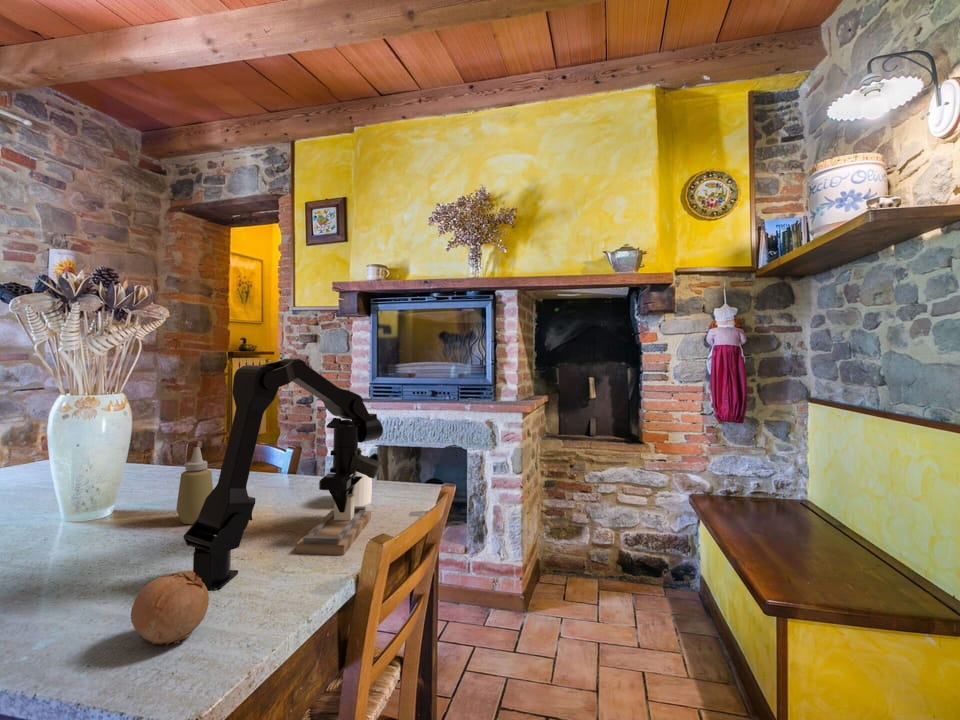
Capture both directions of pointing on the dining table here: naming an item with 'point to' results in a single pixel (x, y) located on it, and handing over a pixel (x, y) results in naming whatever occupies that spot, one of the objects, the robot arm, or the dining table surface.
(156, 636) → the onion
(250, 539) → the dining table surface
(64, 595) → the dining table surface
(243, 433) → the robot arm
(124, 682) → the dining table surface
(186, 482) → the squeeze bottle
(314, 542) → the brown wooden tray
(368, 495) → the mug
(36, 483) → the dining table surface
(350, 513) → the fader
